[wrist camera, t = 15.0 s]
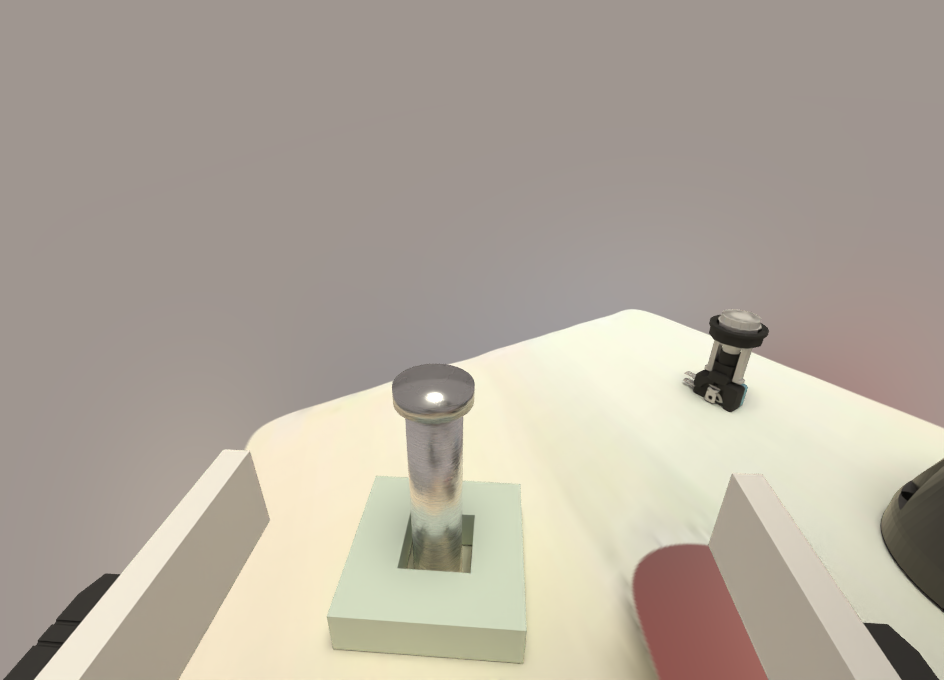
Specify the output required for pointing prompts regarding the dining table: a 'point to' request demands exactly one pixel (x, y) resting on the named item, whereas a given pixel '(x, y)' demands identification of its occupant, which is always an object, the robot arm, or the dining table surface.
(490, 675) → the dining table surface
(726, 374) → the push button
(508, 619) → the socket block
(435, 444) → the steel pin
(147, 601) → the robot arm
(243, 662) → the dining table surface
